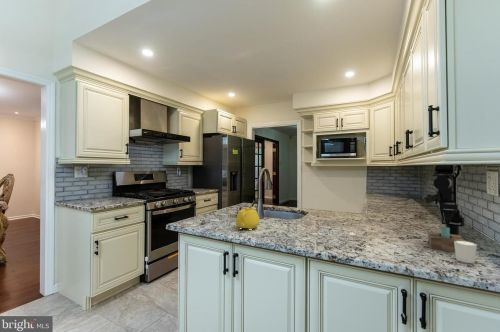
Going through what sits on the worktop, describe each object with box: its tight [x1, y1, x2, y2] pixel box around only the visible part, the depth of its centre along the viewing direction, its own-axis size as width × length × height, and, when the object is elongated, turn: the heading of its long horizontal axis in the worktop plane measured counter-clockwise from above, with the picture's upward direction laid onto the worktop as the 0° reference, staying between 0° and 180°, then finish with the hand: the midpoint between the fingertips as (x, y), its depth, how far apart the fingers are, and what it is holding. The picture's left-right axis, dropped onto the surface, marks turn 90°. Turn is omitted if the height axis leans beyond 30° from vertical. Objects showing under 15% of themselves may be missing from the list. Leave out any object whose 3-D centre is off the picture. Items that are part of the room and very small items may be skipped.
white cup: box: [454, 240, 478, 264], centre depth 96 cm, size 7×7×7 cm
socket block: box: [427, 231, 466, 253], centre depth 112 cm, size 12×12×5 cm
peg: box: [440, 226, 450, 238], centre depth 112 cm, size 3×3×9 cm
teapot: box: [235, 206, 261, 230], centre depth 150 cm, size 14×20×13 cm
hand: (445, 222), depth 112 cm, fingers open, 9 cm apart
